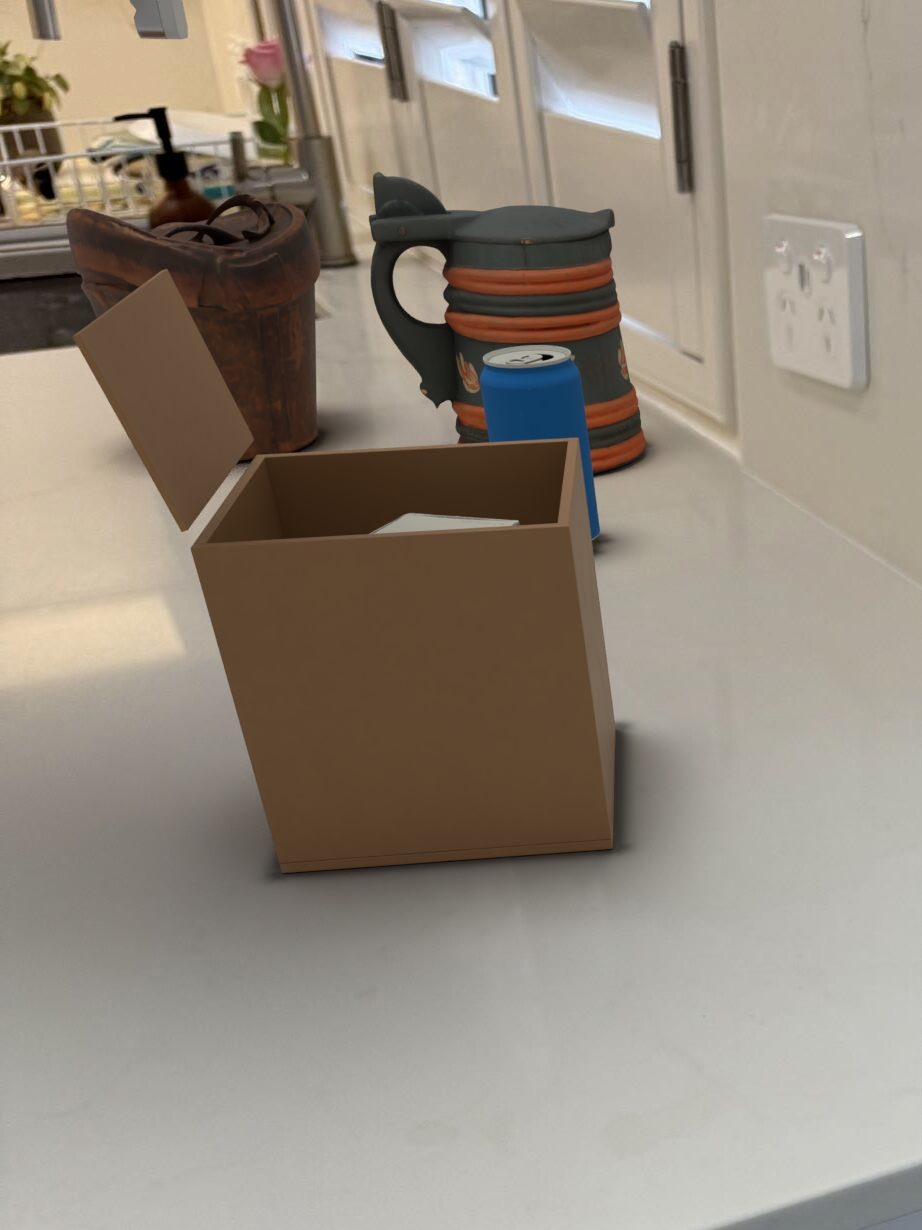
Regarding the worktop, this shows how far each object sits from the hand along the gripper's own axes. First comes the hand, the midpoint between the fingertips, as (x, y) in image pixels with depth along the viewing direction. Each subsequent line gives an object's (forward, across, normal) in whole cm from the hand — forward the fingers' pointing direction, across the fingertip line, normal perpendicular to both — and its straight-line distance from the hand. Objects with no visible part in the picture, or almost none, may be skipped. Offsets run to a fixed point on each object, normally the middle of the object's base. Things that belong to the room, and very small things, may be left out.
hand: (31, 38), depth 58 cm
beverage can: (+30, +14, +39) cm, 51 cm away
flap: (+12, +2, 0) cm, 12 cm away
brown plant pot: (+31, -13, +72) cm, 80 cm away
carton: (+30, +11, 0) cm, 32 cm away
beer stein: (+30, +11, +62) cm, 70 cm away
